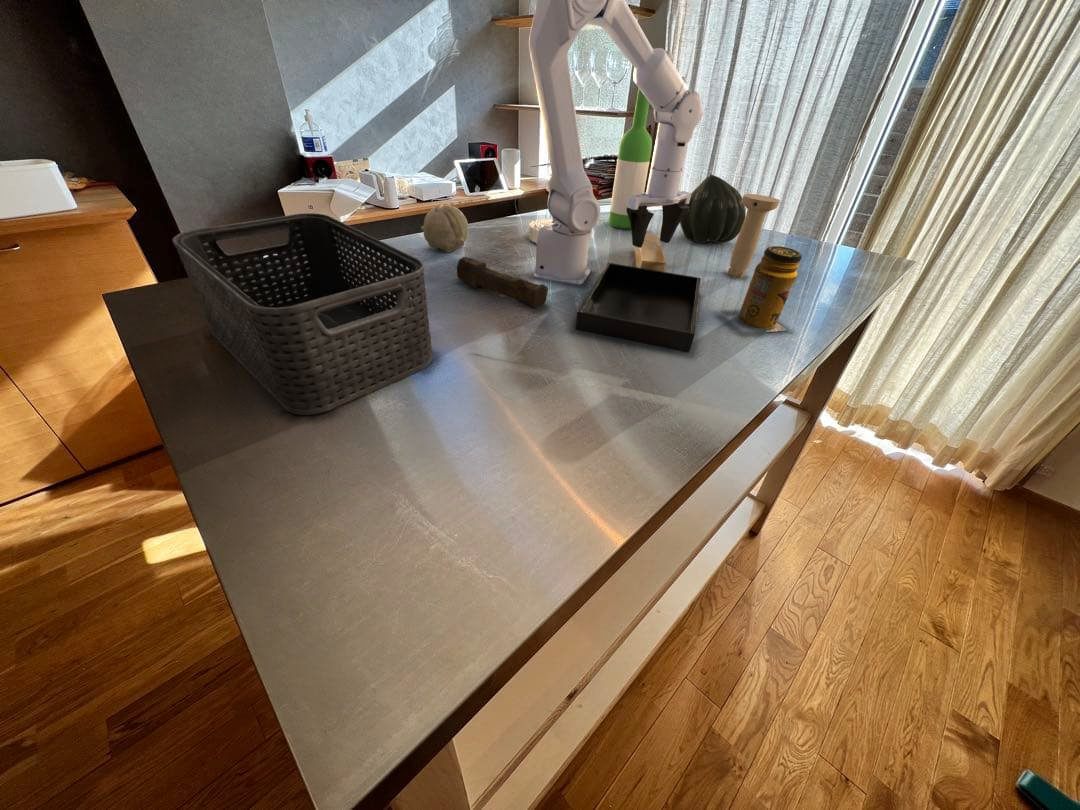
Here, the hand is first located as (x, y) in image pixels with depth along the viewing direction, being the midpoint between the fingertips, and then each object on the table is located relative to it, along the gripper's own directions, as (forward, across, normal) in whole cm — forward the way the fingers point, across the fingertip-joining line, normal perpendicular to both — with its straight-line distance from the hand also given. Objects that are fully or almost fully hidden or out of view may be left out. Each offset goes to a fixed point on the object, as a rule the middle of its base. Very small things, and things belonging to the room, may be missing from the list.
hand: (651, 243), depth 89 cm
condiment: (+5, -1, -27) cm, 27 cm away
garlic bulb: (+5, -34, +26) cm, 43 cm away
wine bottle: (+5, +16, +26) cm, 31 cm away
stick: (+5, 0, 0) cm, 5 cm away
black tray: (+5, -16, -16) cm, 23 cm away
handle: (+5, +15, -11) cm, 19 cm away
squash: (+5, +28, +9) cm, 30 cm away
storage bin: (+5, -64, -5) cm, 65 cm away
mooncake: (+5, -8, +23) cm, 25 cm away
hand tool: (+5, -35, +1) cm, 35 cm away
